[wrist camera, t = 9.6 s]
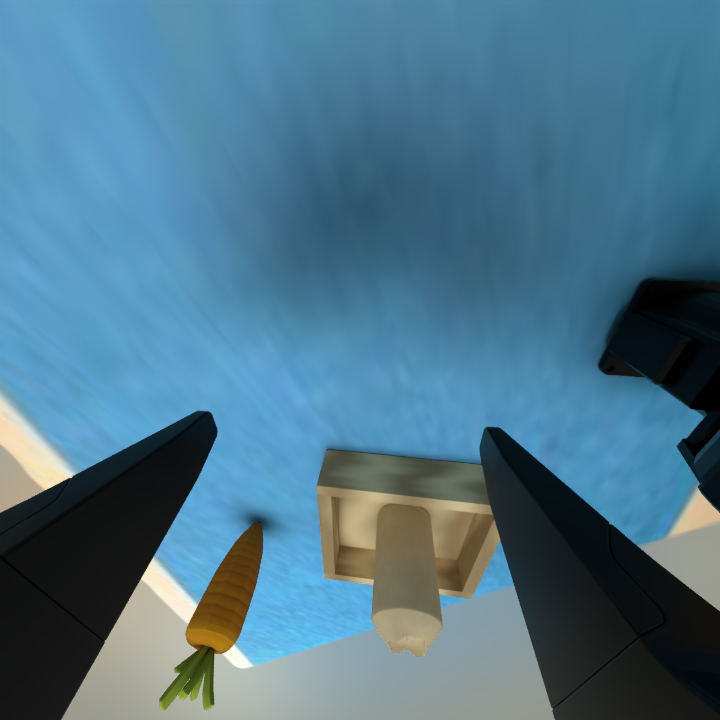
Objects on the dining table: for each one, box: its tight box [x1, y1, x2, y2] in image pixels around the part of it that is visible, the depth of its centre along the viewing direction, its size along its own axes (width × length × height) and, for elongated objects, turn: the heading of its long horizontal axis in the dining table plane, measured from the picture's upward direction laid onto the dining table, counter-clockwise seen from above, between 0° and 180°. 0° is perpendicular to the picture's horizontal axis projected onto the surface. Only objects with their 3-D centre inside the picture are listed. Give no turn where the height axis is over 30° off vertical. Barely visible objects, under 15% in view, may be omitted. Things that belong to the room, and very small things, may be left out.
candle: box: [371, 504, 443, 657], centre depth 25 cm, size 6×6×10 cm
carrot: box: [159, 522, 263, 710], centre depth 29 cm, size 5×5×15 cm
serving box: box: [317, 449, 500, 599], centre depth 29 cm, size 16×16×4 cm
